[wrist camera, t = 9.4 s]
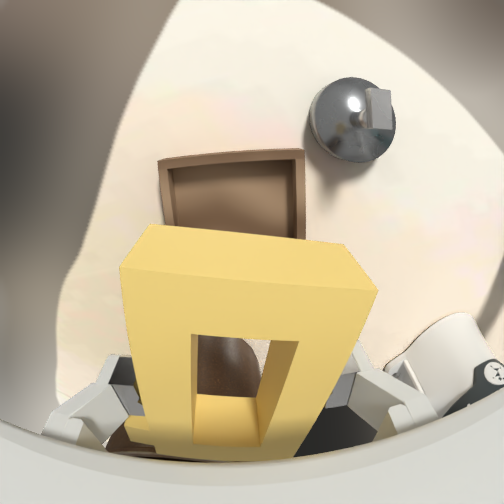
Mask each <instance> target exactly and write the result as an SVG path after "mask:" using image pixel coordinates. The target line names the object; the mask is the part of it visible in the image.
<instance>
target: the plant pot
mask: <svg viewBox="0 0 504 504" xmlns="http://www.w3.org/2000/svg"><path fill="white" fill-rule="evenodd" d="M260 381H261V374H260V369H259V364H258V360H257V358H256V356H255V354H254V351H253V349H252V348H251V347H250V346H249V345H248V344H247V343H246V342H245V341H244V340H243V339H241V338H230V337H218V336H207V335H198V357H197V394H203V395H215V396H229V397H250V398H256V396H257V393H258V389H259V385H260ZM124 424H125V421H124V422H123V423H122V424H121V425H120V426H119V427H118V428H117V429H116V431H115V432H114V433H113V434H112V435H111V437H110V439H109V441H108V443H107V446H106V448H105V449H106V450H107V451H108V452H109V453H113V454H119V455H125V456H131V457H138V458H146V459H155V460H165V461H178V462H200V463H232V462H254V461H220V460H205V459H194V458H185V457H177V456H169V455H162V454H157V453H156V450H155V447H154V445H148V444H143V443H138V442H133V441H130V438H129V436H128V434H127V431H126V429H125V427H124Z"/></svg>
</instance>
